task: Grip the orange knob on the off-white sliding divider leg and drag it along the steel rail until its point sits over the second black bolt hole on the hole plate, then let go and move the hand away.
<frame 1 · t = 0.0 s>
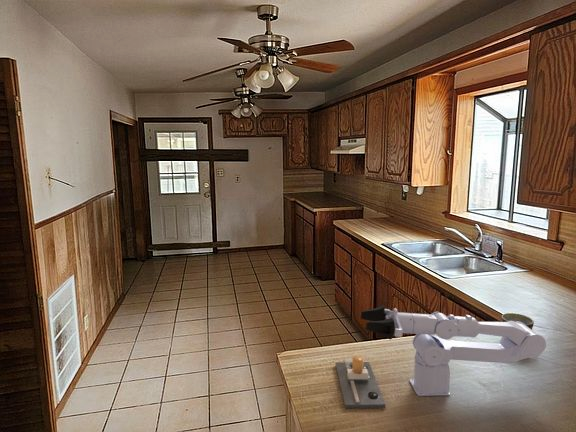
hand: (363, 320, 112), 22 cm above the worktop, tool horizontal, fingers open, 7 cm apart
ceramic cup: (512, 345, 140), on the worktop
hole plate: (358, 385, 117), on the worktop
sliding leg: (358, 368, 117), point 5 cm above the worktop, slide at 0.0 cm
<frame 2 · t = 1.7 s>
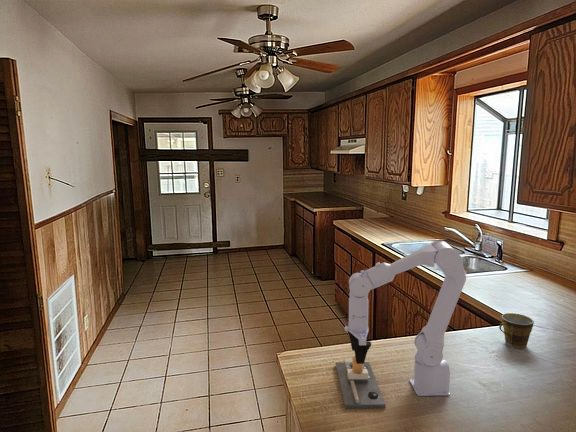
hand: (357, 356, 117), 9 cm above the worktop, tool pointing down, fingers open, 7 cm apart
nothing on the worktop moved.
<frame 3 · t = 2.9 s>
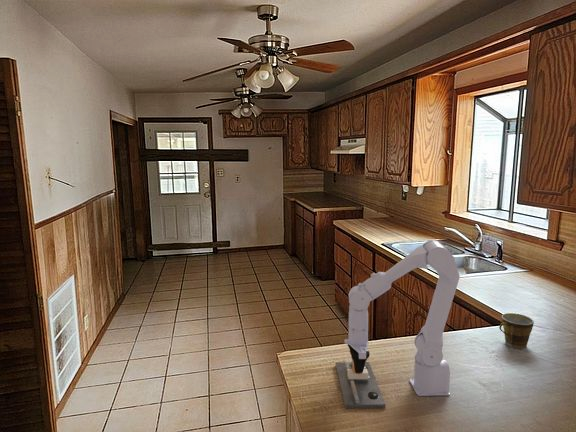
hand: (357, 368, 117), 5 cm above the worktop, tool pointing down, fingers closed on sliding leg, 3 cm apart
sliding leg: (358, 368, 117), point 5 cm above the worktop, slide at 0.0 cm, touching gripper
everything else where it was.
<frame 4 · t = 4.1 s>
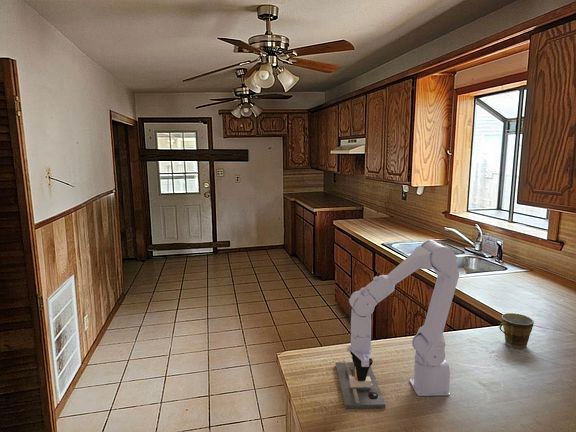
hand: (360, 376, 113), 5 cm above the worktop, tool pointing down, fingers closed on sliding leg, 3 cm apart
sliding leg: (361, 375, 113), point 5 cm above the worktop, slide at 4.1 cm, touching gripper
everything else where it was.
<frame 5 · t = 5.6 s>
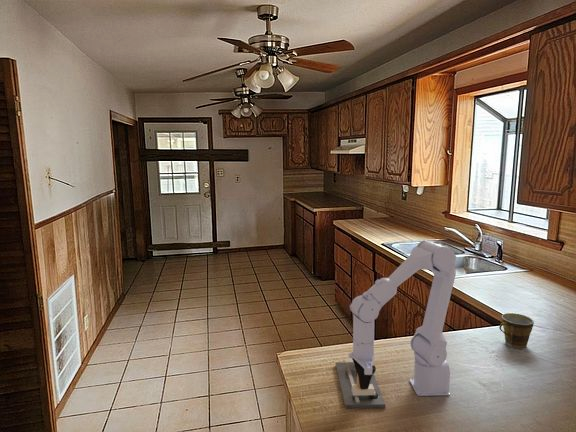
hand: (362, 384, 109), 5 cm above the worktop, tool pointing down, fingers closed on sliding leg, 3 cm apart
sliding leg: (363, 383, 109), point 5 cm above the worktop, slide at 8.0 cm, touching gripper
everything else where it was.
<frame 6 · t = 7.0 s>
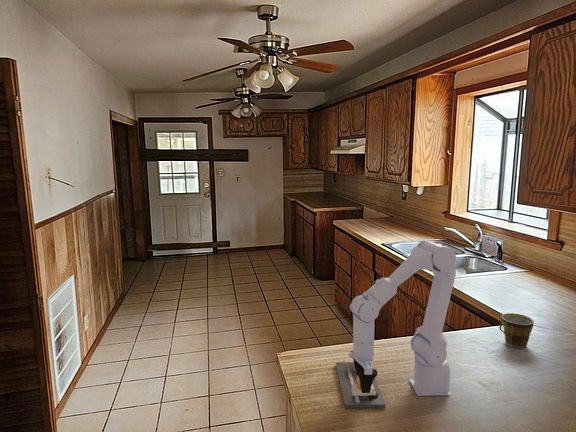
hand: (362, 384, 109), 5 cm above the worktop, tool pointing down, fingers open, 7 cm apart
sliding leg: (363, 383, 109), point 5 cm above the worktop, slide at 8.0 cm
everything else where it was.
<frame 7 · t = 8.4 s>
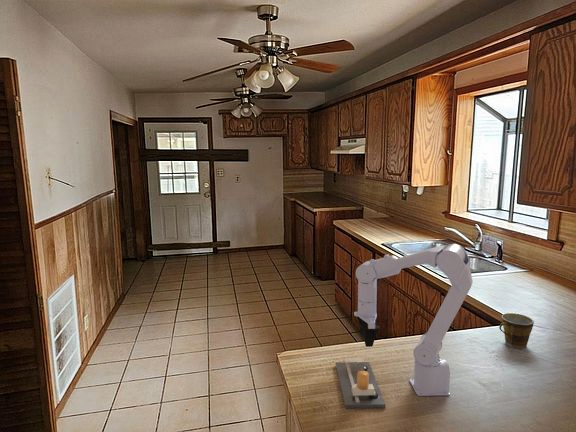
hand: (366, 340, 123), 10 cm above the worktop, tool pointing down, fingers open, 7 cm apart
nothing on the worktop moved.
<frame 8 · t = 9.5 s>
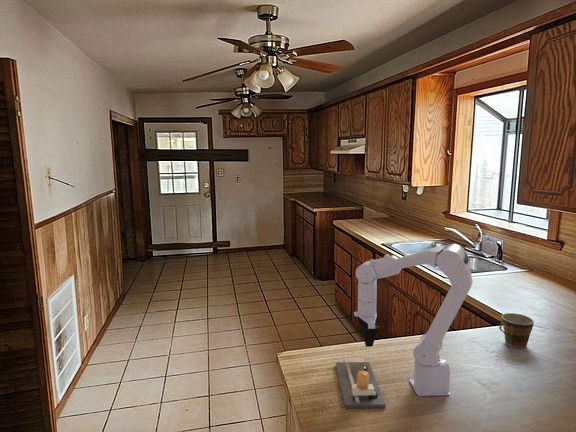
hand: (366, 340, 123), 10 cm above the worktop, tool pointing down, fingers open, 7 cm apart
nothing on the worktop moved.
at the end: sliding leg slide at 8.0 cm; the gripper is holding nothing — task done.
